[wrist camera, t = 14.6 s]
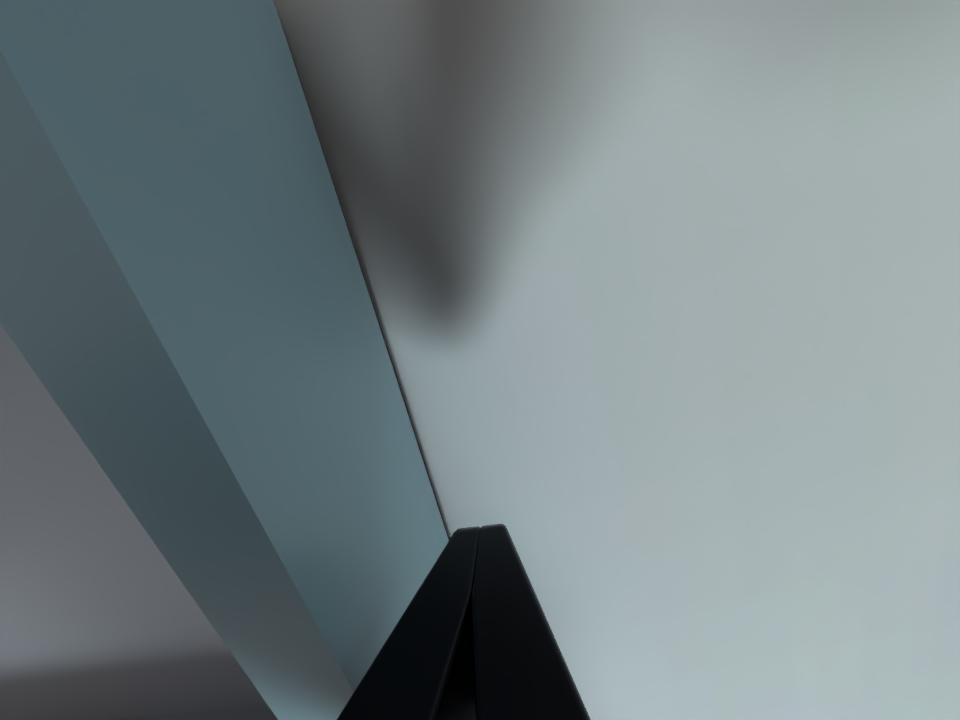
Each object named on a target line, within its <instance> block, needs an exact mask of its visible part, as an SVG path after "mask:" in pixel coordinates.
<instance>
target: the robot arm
mask: <svg viewBox="0 0 960 720" xmlns="http://www.w3.org/2000/svg"><path fill="white" fill-rule="evenodd" d="M337 720H591V719H590V717H589V715H588V713H587V710H586V708H585V706H584V704H583V701H582V699H581V697H580V694H579V692H578V690H577V688H576V685H575V683H574V681H573V678H572V676H571V674H570V672H569V669H568V667H567V665H566V662H565V660H564V658H563V656H562V653H561V651H560V649H559V646H558V644H557V642H556V640H555V637H554V635H553V633H552V630H551V628H550V626H549V624H548V621H547V619H546V617H545V615H544V612H543V610H542V608H541V605H540V603H539V601H538V599H537V596H536V594H535V592H534V589H533V587H532V585H531V583H530V580H529V578H528V576H527V573H526V571H525V569H524V567H523V564H522V562H521V560H520V557H519V555H518V553H517V551H516V548H515V546H514V544H513V542H512V539H511V537H510V535H509V532H508V530H507V528H506V526H505V525H504V524H496V525H486V526H482V527H481V528H480V527H468V528H460V529H457V530H456V531H455V532H454V533H453V535H452V537H451V538H450V540H449V541H448V543H447V545H446V546H445V548H444V549H443V551H442V553H441V554H440V556H439V557H438V559H437V561H436V562H435V564H434V565H433V567H432V569H431V570H430V572H429V573H428V575H427V576H426V578H425V580H424V581H423V583H422V584H421V586H420V588H419V589H418V591H417V592H416V594H415V596H414V597H413V599H412V600H411V602H410V604H409V605H408V607H407V608H406V610H405V612H404V613H403V615H402V616H401V618H400V619H399V621H398V623H397V624H396V626H395V627H394V629H393V631H392V632H391V634H390V635H389V637H388V639H387V640H386V642H385V643H384V645H383V647H382V648H381V650H380V651H379V653H378V655H377V656H376V658H375V659H374V661H373V663H372V664H371V666H370V667H369V669H368V670H367V672H366V674H365V675H364V677H363V678H362V680H361V682H360V683H359V685H358V686H357V688H356V690H355V691H354V693H353V694H352V696H351V698H350V699H349V701H348V702H347V704H346V706H345V707H344V709H343V710H342V712H341V714H340V715H339V717H338V718H337Z"/></svg>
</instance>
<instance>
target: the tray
mask: <svg viewBox="0 0 960 720" xmlns="http://www.w3.org/2000/svg"><path fill="white" fill-rule="evenodd" d="M448 541H449V540H448V537H447V534H446V530H445V527H444V524H443V521H442V518H441V515H440V512H439V509H438V506H437V503H436V500H435V497H434V493H433V490H432V487H431V484H430V481H429V478H428V475H427V472H426V469H425V466H424V463H423V460H422V456H421V453H420V450H419V447H418V444H417V441H416V438H415V435H414V432H413V429H412V426H411V423H410V419H409V416H408V413H407V410H406V407H405V404H404V401H403V398H402V395H401V392H400V389H399V386H398V382H397V379H396V376H395V373H394V370H393V367H392V364H391V361H390V358H389V355H388V352H387V349H386V345H385V342H384V339H383V336H382V333H381V330H380V327H379V324H378V321H377V318H376V315H375V312H374V308H373V305H372V302H371V299H370V296H369V293H368V290H367V287H366V284H365V281H364V278H363V275H362V271H361V268H360V265H359V262H358V259H357V256H356V253H355V250H354V247H353V244H352V241H351V238H350V234H349V231H348V228H347V225H346V222H345V219H344V216H343V213H342V210H341V207H340V204H339V201H338V197H337V194H336V191H335V188H334V185H333V182H332V179H331V176H330V173H329V170H328V167H327V164H326V160H325V157H324V154H323V151H322V148H321V145H320V142H319V139H318V136H317V133H316V130H315V127H314V123H313V120H312V117H311V114H310V111H309V108H308V105H307V102H306V99H305V96H304V93H303V90H302V86H301V83H300V80H299V77H298V74H297V71H296V68H295V65H294V62H293V59H292V56H291V53H290V49H289V46H288V43H287V40H286V37H285V34H284V31H283V28H282V25H281V22H280V19H279V16H278V12H277V9H276V6H275V3H274V0H0V720H337V718H338V717H339V715H340V714H341V712H342V710H343V709H344V707H345V706H346V704H347V702H348V701H349V699H350V698H351V696H352V694H353V693H354V691H355V690H356V688H357V686H358V685H359V683H360V682H361V680H362V678H363V677H364V675H365V674H366V672H367V670H368V669H369V667H370V666H371V664H372V663H373V661H374V659H375V658H376V656H377V655H378V653H379V651H380V650H381V648H382V647H383V645H384V643H385V642H386V640H387V639H388V637H389V635H390V634H391V632H392V631H393V629H394V627H395V626H396V624H397V623H398V621H399V619H400V618H401V616H402V615H403V613H404V612H405V610H406V608H407V607H408V605H409V604H410V602H411V600H412V599H413V597H414V596H415V594H416V592H417V591H418V589H419V588H420V586H421V584H422V583H423V581H424V580H425V578H426V576H427V575H428V573H429V572H430V570H431V569H432V567H433V565H434V564H435V562H436V561H437V559H438V557H439V556H440V554H441V553H442V551H443V549H444V548H445V546H446V545H447V543H448Z"/></svg>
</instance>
